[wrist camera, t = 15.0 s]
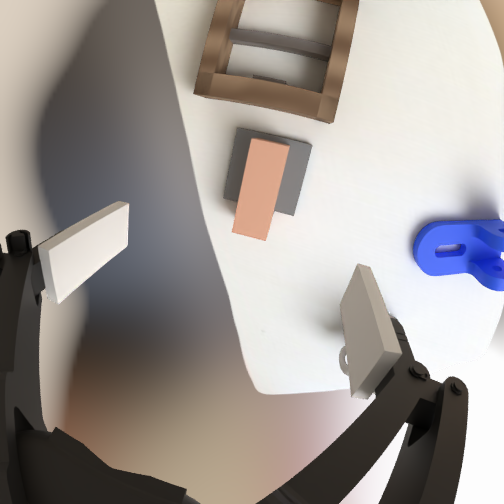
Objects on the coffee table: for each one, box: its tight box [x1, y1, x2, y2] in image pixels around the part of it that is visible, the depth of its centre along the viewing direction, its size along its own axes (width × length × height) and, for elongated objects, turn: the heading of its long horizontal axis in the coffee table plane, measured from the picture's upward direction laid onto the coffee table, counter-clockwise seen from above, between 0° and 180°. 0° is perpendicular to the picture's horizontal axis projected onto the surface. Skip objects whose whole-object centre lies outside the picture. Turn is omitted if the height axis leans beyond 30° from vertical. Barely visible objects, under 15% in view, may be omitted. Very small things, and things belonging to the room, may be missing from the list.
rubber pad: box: [223, 128, 312, 216], centre depth 37 cm, size 10×10×1 cm
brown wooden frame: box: [193, 0, 359, 124], centre depth 28 cm, size 21×17×5 cm
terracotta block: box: [232, 138, 290, 241], centre depth 36 cm, size 12×4×4 cm, turn 168°
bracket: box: [413, 219, 504, 291], centre depth 33 cm, size 18×8×9 cm, turn 97°
